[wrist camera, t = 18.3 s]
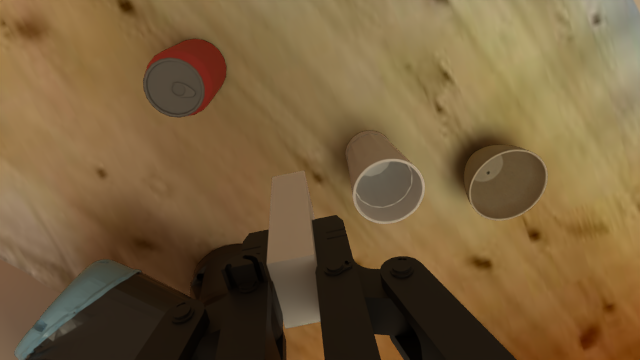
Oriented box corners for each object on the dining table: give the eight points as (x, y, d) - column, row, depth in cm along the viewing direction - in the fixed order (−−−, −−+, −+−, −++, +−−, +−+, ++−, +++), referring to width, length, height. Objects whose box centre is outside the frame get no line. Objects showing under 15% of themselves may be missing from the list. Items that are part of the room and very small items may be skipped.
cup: (376, 112, 52) (400, 144, 41) (408, 156, 55) (438, 197, 44) (327, 148, 54) (338, 188, 43) (361, 189, 57) (378, 236, 46)
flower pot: (447, 138, 54) (469, 158, 48) (519, 124, 54) (551, 142, 48) (449, 201, 59) (470, 227, 52) (516, 188, 59) (545, 212, 52)
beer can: (221, 100, 50) (202, 130, 39) (167, 85, 48) (132, 112, 38) (232, 48, 47) (216, 64, 36) (176, 30, 46) (141, 42, 35)
